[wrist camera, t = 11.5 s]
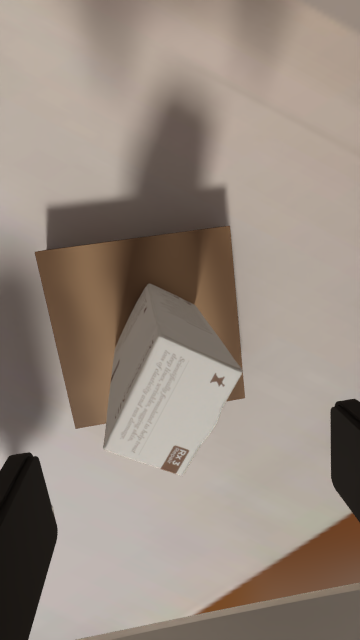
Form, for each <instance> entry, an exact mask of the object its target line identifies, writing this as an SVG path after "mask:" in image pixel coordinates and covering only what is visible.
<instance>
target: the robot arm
mask: <svg viewBox="0 0 360 640" xmlns="http://www.w3.org/2000/svg"><path fill="white" fill-rule="evenodd" d="M331 479H332V483H333V485H334V487H335V489H336V491H337V492H338V493H339V495H340V496H341V497H342V499H343V500H344V501H345V503H346V504H347V506H348V507H349V508H350V510H351V511H352V512H353V514H354V515H355V516H356V518H357V519H358V521H359V522H360V402H359V401H358V400H356V399H350V400H344V401H338V402H336V404H335V407H332V408H331ZM56 540H57V524H56V520H55V517H54V513H53V509H52V506H51V502H50V498H49V494H48V491H47V487H46V483H45V480H44V476H43V472H42V468H41V465H40V461H39V458H38V457H37V456H34V457H33V455H32V454H31V453H23V454H16V455H11V456H9V457H8V459H7V460H6V462H5V464H4V465H3V467H2V469H1V470H0V640H28V638H29V635H30V631H31V628H32V624H33V621H34V617H35V614H36V610H37V607H38V603H39V600H40V596H41V593H42V589H43V586H44V582H45V579H46V575H47V572H48V568H49V565H50V561H51V558H52V554H53V551H54V547H55V544H56ZM77 640H360V583H356V584H351V585H345V586H340V587H335V588H330V589H325V590H320V591H314V592H309V593H304V594H299V595H294V596H289V597H284V598H279V599H274V600H268V601H264V602H259V603H254V604H249V605H244V606H238V607H233V608H228V609H223V610H218V611H214V612H208V613H203V614H198V615H193V616H188V617H183V618H178V619H173V620H169V621H164V622H159V623H154V624H149V625H144V626H140V627H135V628H130V629H125V630H120V631H115V632H110V633H106V634H101V635H96V636H91V637H86V638H81V639H77Z"/></svg>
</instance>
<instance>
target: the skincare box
mask: <svg viewBox="0 0 360 640" xmlns="http://www.w3.org/2000/svg"><path fill="white" fill-rule="evenodd" d="M242 372H243V371H242V368H241V367H240V366H239V365H238V363H237V362H236V361H235V359H234V358H233V357H232V355H231V354H230V352H229V351H228V349H227V348H226V346H225V345H224V344H223V342H222V341H221V340H220V338H219V337H218V335H217V334H216V333H215V331H214V330H213V329H212V327H211V326H210V325H209V323H208V322H207V320H206V319H205V318H204V316H203V315H202V314H201V312H200V311H199V310H198V308H197V307H196V305H194V304H192V303H190V302H188V301H186V300H184V299H182V298H180V297H178V296H176V295H174V294H172V293H170V292H167V291H165V290H163V289H161V288H159V287H157V286H155V285H152V284H147V286H146V287H145V289H144V290H143V292H142V294H141V296H140V297H139V299H138V301H137V303H136V305H135V307H134V308H133V310H132V312H131V314H130V316H129V319H128V321H127V323H126V325H125V327H124V329H123V331H122V334H121V336H120V338H119V340H118V343H117V345H116V348H115V352H114V359H113V367H112V376H111V383H110V392H109V400H108V409H107V420H106V430H105V438H104V446H103V449H104V450H105V451H108V452H112V453H114V454H117V455H120V456H123V457H126V458H129V459H132V460H135V461H138V462H141V463H144V464H147V465H150V466H153V467H156V468H159V469H162V470H165V471H168V472H171V473H174V474H177V475H179V476H182V475H184V473H185V472H186V470H187V468H188V466H189V465H190V463H191V461H192V459H193V458H194V456H195V454H196V452H197V451H198V449H199V447H200V445H201V444H202V443H203V442H204V441H205V439H206V438H207V437H208V436H209V435H210V433H211V432H212V430H213V428H214V427H215V425H216V423H217V421H218V419H219V416H220V414H221V410H222V408H223V406H224V404H225V402H226V401H227V399H228V397H229V395H230V394H231V392H232V390H233V388H234V387H235V385H236V383H237V381H238V380H239V378H240V376H241V375H242Z"/></svg>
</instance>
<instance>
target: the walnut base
mask: <svg viewBox="0 0 360 640" xmlns="http://www.w3.org/2000/svg"><path fill="white" fill-rule="evenodd" d="M35 256H36V260H37V264H38V269H39V273H40V277H41V282H42V286H43V290H44V294H45V299H46V303H47V307H48V312H49V316H50V320H51V325H52V329H53V333H54V338H55V342H56V346H57V351H58V355H59V359H60V363H61V368H62V372H63V376H64V381H65V385H66V389H67V394H68V398H69V402H70V407H71V411H72V415H73V420H74V424H75V428H76V429H78V428H83V427H89V426H94V425H100V424H105V423H106V420H107V409H108V400H109V392H110V383H111V376H112V367H113V359H114V352H115V348H116V345H117V343H118V340H119V338H120V336H121V334H122V331H123V329H124V327H125V325H126V323H127V321H128V319H129V316H130V314H131V312H132V310H133V308H134V307H135V305H136V303H137V301H138V299H139V297H140V296H141V294H142V292H143V290H144V289H145V287H146V286H147V284H152V285H155V286H157V287H159V288H161V289H163V290H165V291H167V292H170V293H172V294H174V295H176V296H178V297H180V298H182V299H184V300H186V301H188V302H190V303H192V304H194V305H196V307H197V308H198V310H199V311H200V312H201V314H202V315H203V316H204V318H205V319H206V320H207V322H208V323H209V325H210V326H211V327H212V329H213V330H214V331H215V333H216V334H217V335H218V337H219V338H220V340H221V341H222V342H223V344H224V345H225V346H226V348H227V349H228V351H229V352H230V354H231V355H232V357H233V358H234V359H235V361H236V362H237V363H238V365H239V366H240V367H241V368H242V358H241V347H240V336H239V324H238V313H237V301H236V290H235V278H234V267H233V256H232V244H231V233H230V226H224V227H215V228H208V229H200V230H193V231H185V232H178V233H170V234H163V235H155V236H148V237H140V238H133V239H125V240H118V241H110V242H103V243H95V244H88V245H80V246H73V247H65V248H58V249H50V250H43V251H37V252H35ZM242 371H243V370H242ZM242 398H245V393H244V381H243V372H242V375H241V376H240V378H239V380H238V381H237V383H236V385H235V387H234V388H233V390H232V392H231V394H230V395H229V397H228V399H227V401H231V400H237V399H242Z"/></svg>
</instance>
